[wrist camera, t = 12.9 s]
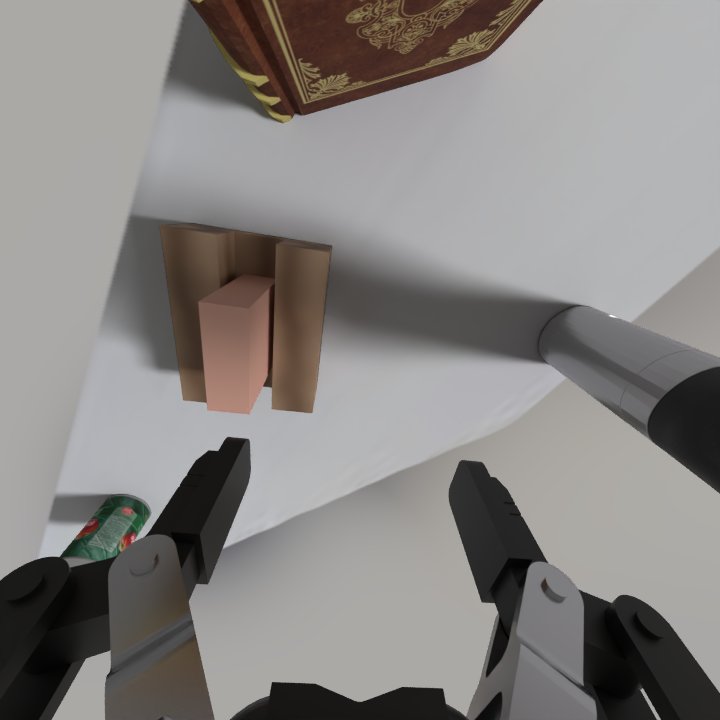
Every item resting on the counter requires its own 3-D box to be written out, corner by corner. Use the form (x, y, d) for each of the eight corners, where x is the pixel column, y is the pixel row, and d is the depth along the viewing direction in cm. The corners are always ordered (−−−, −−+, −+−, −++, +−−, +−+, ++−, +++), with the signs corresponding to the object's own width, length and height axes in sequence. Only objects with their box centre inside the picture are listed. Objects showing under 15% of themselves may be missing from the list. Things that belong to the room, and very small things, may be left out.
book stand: (331, 245, 35) (328, 252, 29) (316, 386, 44) (312, 413, 38) (191, 223, 33) (159, 225, 28) (205, 374, 42) (183, 400, 36)
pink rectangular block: (278, 279, 35) (248, 308, 24) (275, 360, 40) (249, 414, 29) (243, 273, 35) (198, 301, 24) (245, 356, 40) (207, 410, 29)
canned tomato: (102, 491, 52) (45, 556, 42) (149, 496, 53) (105, 561, 43) (108, 519, 55) (57, 586, 46) (153, 524, 56) (112, 590, 47)
